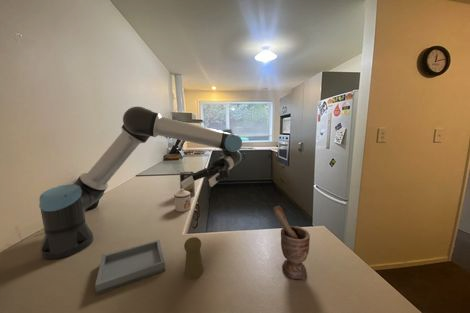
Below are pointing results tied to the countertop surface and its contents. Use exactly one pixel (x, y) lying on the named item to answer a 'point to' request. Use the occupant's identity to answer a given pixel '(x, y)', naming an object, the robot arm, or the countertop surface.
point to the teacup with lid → (182, 200)
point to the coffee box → (191, 187)
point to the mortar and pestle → (293, 246)
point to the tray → (129, 266)
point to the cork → (193, 258)
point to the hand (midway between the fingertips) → (195, 184)
